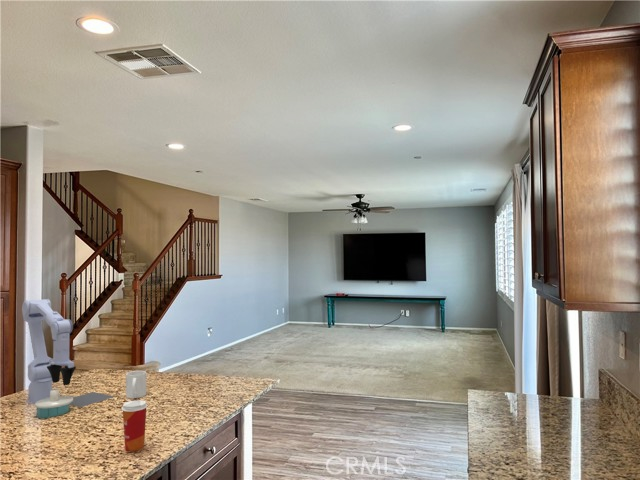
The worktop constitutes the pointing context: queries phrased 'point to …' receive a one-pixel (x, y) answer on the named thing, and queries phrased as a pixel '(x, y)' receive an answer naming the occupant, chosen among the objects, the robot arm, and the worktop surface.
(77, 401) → the mat
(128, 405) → the paper cup
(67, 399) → the lid
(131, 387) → the mug
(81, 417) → the worktop surface
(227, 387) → the worktop surface
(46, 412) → the bowl
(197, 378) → the worktop surface
